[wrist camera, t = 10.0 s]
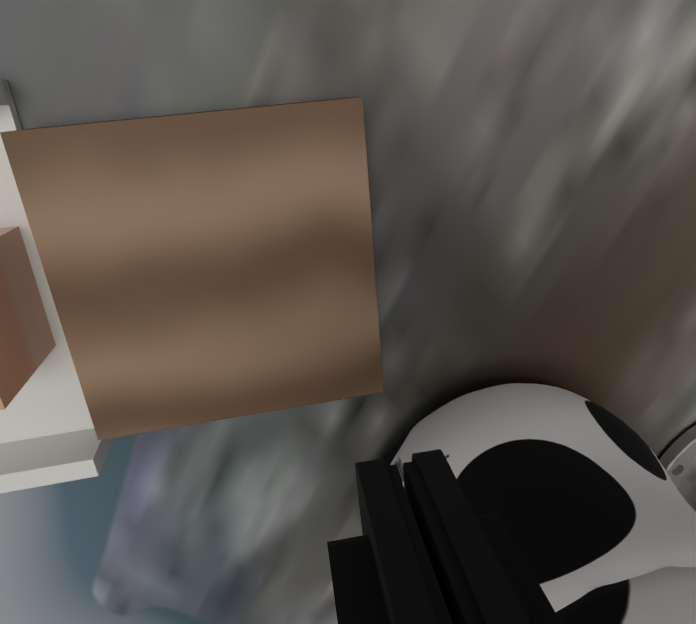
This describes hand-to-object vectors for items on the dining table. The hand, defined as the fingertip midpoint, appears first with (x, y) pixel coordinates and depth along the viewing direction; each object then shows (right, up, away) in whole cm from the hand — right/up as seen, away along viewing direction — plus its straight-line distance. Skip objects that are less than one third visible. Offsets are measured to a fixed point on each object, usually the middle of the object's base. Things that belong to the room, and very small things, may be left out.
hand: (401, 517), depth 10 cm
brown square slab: (-7, +7, +17) cm, 19 cm away
